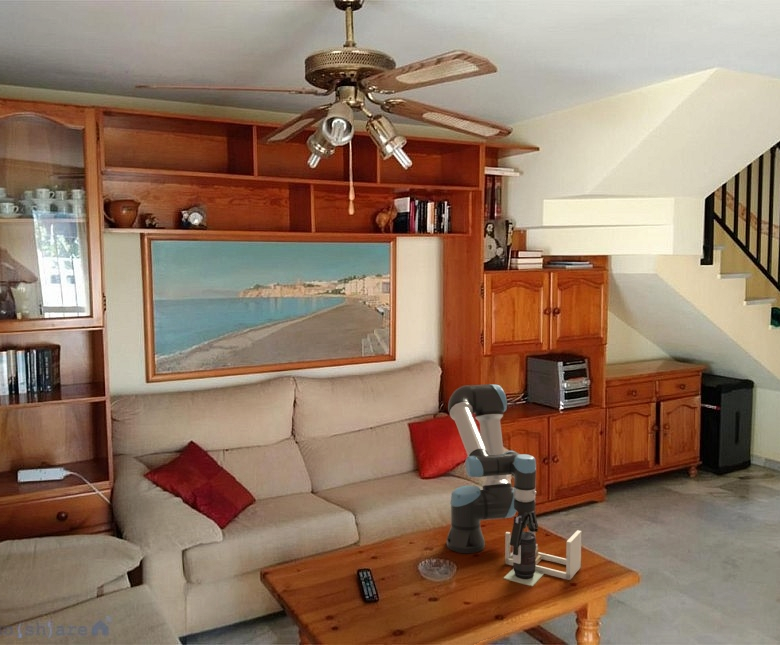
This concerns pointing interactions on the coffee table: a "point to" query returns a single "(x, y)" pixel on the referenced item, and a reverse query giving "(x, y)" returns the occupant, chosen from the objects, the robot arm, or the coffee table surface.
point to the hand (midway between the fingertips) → (524, 555)
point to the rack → (555, 557)
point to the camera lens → (526, 557)
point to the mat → (529, 582)
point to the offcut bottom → (538, 559)
